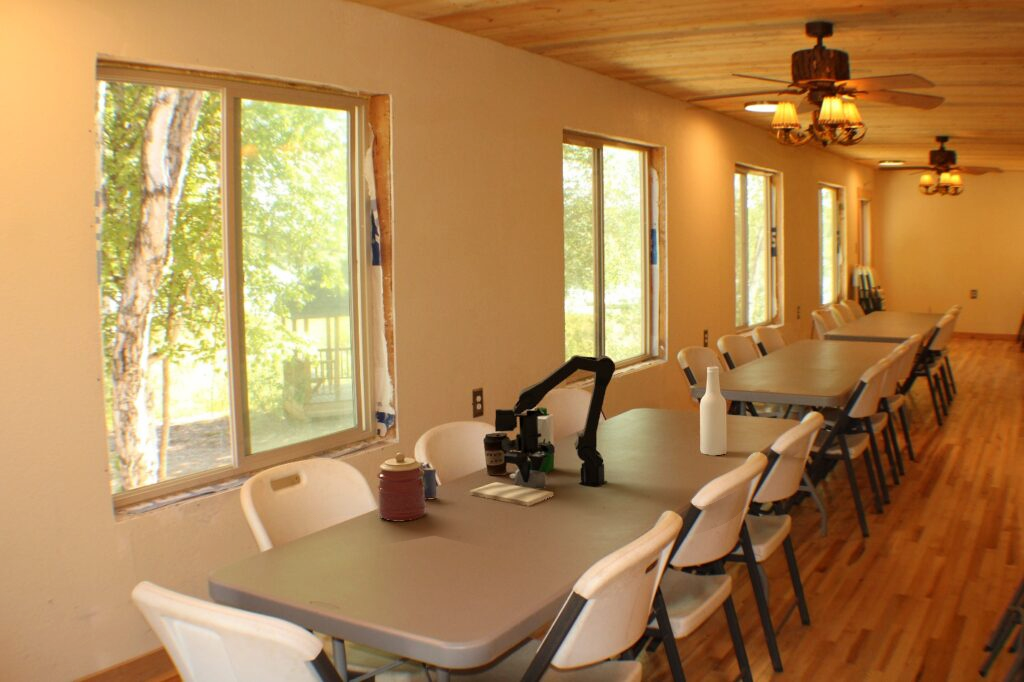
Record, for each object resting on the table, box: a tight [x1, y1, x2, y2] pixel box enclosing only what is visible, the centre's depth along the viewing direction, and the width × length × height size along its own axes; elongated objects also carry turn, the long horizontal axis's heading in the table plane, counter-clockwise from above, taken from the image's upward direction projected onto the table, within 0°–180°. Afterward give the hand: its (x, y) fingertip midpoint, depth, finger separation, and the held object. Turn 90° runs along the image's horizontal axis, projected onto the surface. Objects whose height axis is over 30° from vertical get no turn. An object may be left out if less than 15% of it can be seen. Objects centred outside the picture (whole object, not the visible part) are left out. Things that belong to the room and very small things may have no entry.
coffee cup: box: [483, 432, 510, 476], centre depth 302 cm, size 9×8×13 cm
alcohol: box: [699, 365, 728, 455], centre depth 320 cm, size 9×9×30 cm
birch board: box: [469, 481, 554, 507], centre depth 276 cm, size 22×12×1 cm, turn 52°
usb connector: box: [509, 468, 546, 489], centre depth 287 cm, size 13×4×4 cm, turn 52°
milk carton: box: [527, 407, 555, 474], centre depth 304 cm, size 9×9×20 cm
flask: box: [420, 461, 437, 498], centre depth 276 cm, size 9×3×11 cm, turn 68°
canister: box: [376, 452, 427, 521], centre depth 258 cm, size 13×13×18 cm
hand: (530, 480), depth 286 cm, fingers open, 4 cm apart
